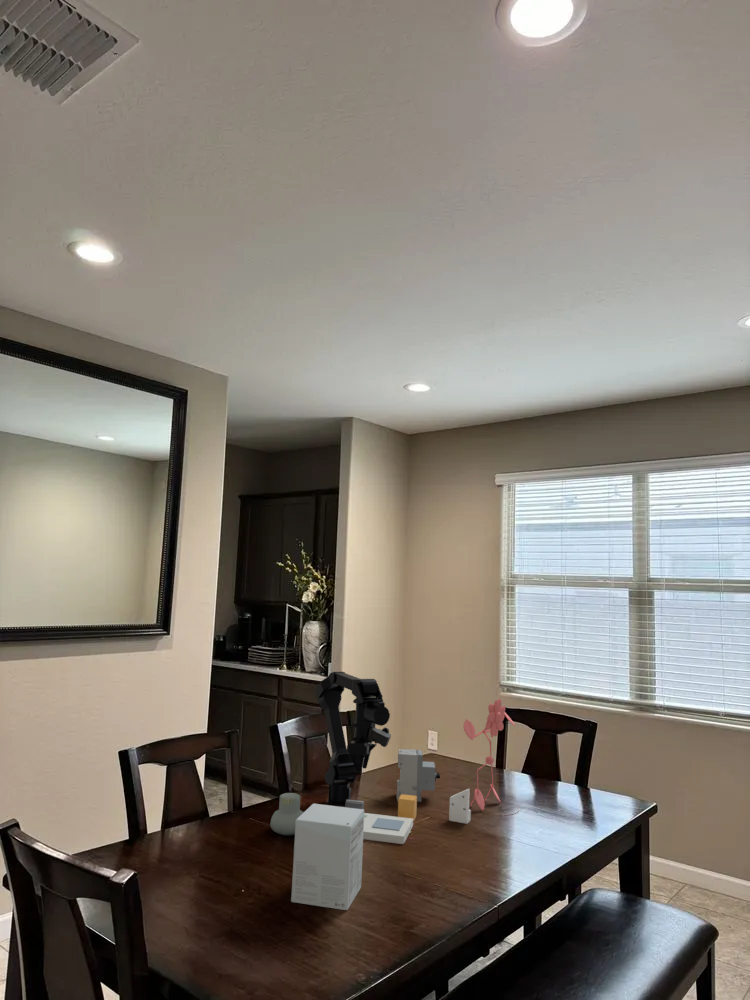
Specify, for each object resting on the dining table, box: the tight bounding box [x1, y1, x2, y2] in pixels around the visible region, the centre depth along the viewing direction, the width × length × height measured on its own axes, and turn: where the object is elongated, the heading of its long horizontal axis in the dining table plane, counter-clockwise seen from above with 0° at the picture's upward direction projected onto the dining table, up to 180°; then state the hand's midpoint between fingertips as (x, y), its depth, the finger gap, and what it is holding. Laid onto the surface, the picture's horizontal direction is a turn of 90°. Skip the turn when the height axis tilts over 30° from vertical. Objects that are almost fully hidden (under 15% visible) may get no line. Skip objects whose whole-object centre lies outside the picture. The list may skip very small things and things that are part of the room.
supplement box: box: [290, 803, 365, 911], centre depth 157 cm, size 13×13×18 cm
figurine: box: [463, 698, 520, 817], centre depth 227 cm, size 15×26×35 cm, turn 140°
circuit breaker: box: [396, 748, 441, 803], centre depth 233 cm, size 8×14×15 cm, turn 89°
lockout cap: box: [397, 794, 418, 822], centre depth 212 cm, size 5×5×6 cm
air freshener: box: [270, 792, 305, 836], centre depth 195 cm, size 11×8×10 cm
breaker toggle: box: [344, 799, 365, 810], centre depth 206 cm, size 5×3×4 cm, turn 77°
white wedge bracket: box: [448, 788, 472, 825], centre depth 212 cm, size 4×10×9 cm, turn 65°
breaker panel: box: [363, 812, 414, 845], centre depth 199 cm, size 20×16×2 cm
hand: (362, 771), depth 214 cm, fingers open, 7 cm apart
